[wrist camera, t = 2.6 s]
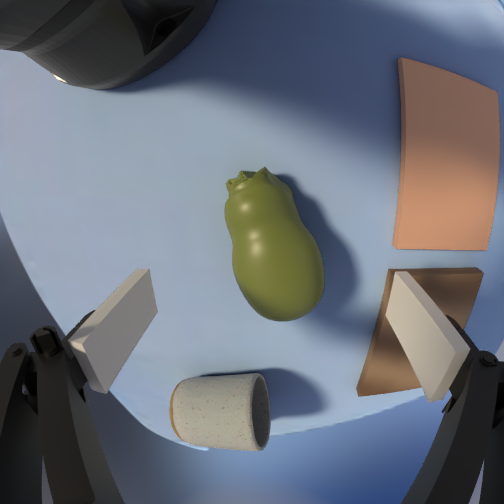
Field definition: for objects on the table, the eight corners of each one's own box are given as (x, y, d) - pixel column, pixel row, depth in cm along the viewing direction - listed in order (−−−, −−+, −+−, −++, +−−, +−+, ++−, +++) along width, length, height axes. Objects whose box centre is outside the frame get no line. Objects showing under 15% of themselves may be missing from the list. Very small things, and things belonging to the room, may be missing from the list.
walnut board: (388, 268, 20) (393, 276, 18) (476, 267, 19) (483, 273, 18) (356, 388, 25) (358, 396, 24) (433, 376, 24) (437, 383, 23)
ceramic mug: (177, 363, 25) (154, 424, 18) (257, 355, 24) (249, 426, 17) (213, 419, 29) (202, 471, 22) (279, 415, 28) (277, 472, 21)
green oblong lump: (251, 344, 16) (189, 187, 15) (261, 309, 22) (216, 186, 20) (340, 321, 15) (286, 150, 14) (330, 289, 20) (288, 160, 19)
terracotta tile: (397, 59, 14) (401, 57, 13) (492, 92, 13) (497, 91, 12) (392, 245, 19) (396, 248, 18) (481, 247, 18) (486, 250, 17)
